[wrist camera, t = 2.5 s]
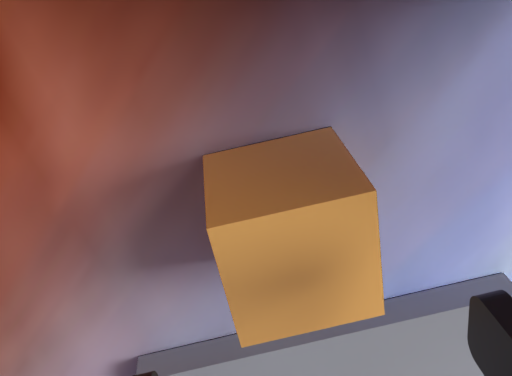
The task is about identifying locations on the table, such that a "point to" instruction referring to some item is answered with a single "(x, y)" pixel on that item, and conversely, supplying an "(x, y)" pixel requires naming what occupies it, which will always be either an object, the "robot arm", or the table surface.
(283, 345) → the grey slider board
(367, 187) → the orange toy cube
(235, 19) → the table surface
